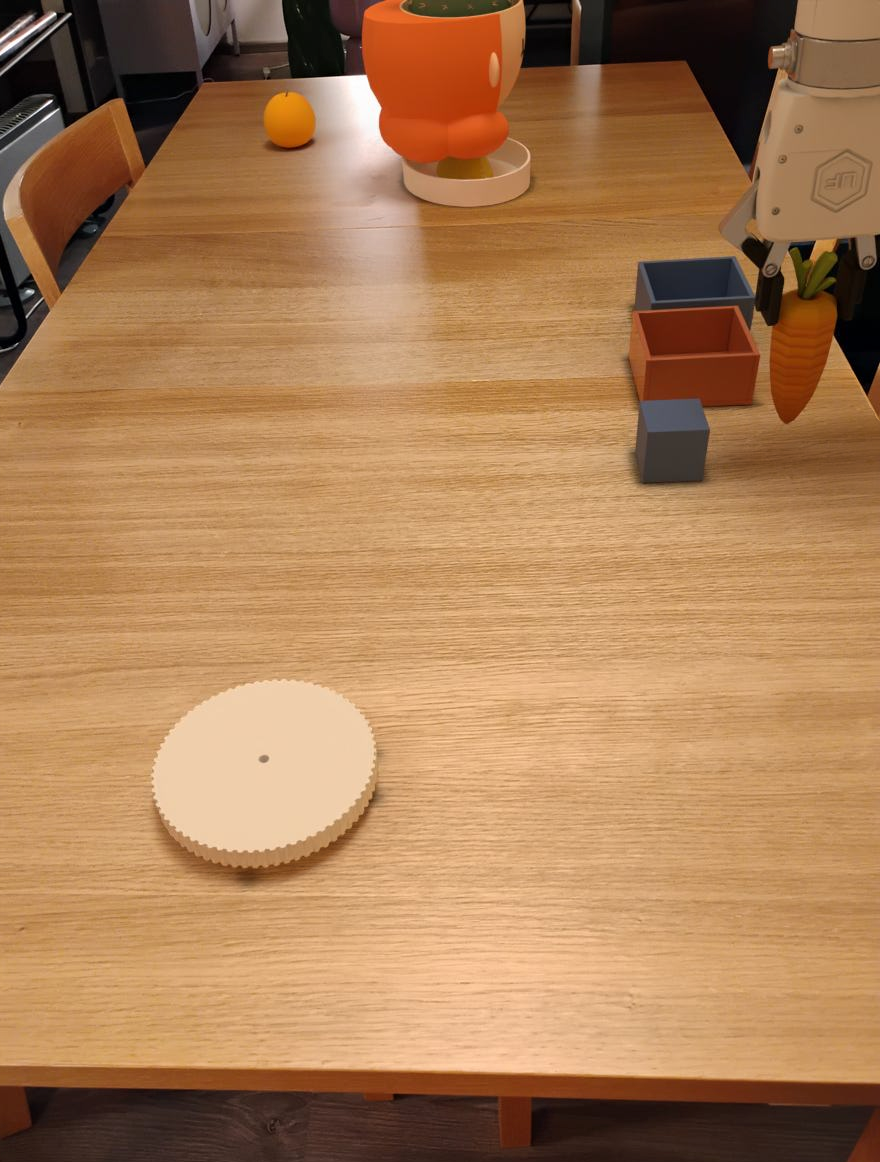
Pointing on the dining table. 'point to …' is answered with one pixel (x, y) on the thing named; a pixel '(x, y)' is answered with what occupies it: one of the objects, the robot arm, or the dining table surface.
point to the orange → (289, 120)
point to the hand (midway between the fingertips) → (805, 313)
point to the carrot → (802, 336)
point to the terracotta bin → (693, 355)
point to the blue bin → (694, 285)
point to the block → (671, 440)
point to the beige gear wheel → (265, 773)
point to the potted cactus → (449, 95)
